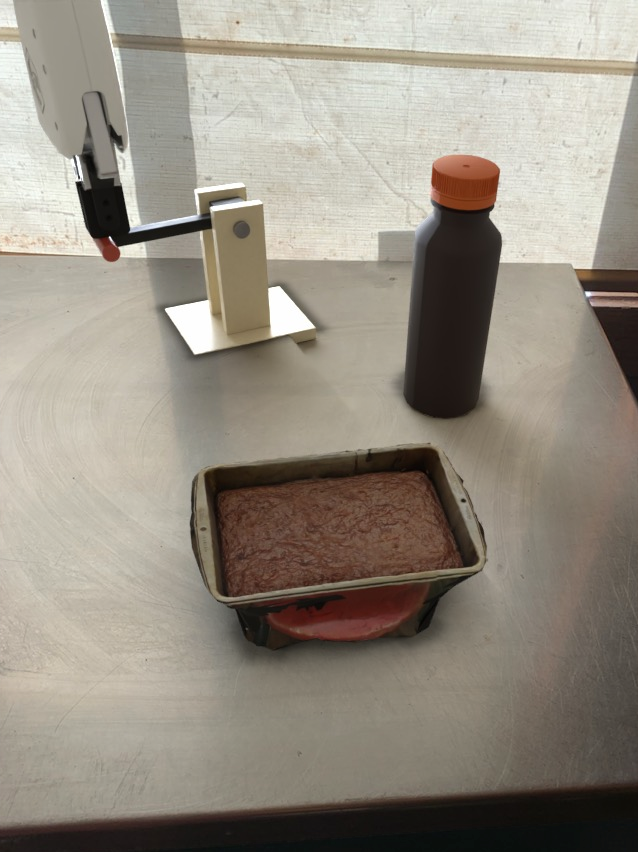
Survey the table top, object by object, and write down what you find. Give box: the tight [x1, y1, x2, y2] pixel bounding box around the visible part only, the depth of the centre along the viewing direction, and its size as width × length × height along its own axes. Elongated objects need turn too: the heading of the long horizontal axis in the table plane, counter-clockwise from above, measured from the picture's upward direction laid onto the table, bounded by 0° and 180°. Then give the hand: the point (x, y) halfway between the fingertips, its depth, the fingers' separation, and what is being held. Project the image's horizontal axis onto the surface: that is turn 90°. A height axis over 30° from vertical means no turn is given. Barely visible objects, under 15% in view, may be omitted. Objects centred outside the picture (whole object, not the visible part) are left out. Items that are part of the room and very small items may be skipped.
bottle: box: [402, 154, 503, 419], centre depth 64 cm, size 7×7×20 cm
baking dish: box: [189, 442, 488, 651], centre depth 52 cm, size 14×18×10 cm
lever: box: [87, 196, 244, 263], centre depth 67 cm, size 13×5×2 cm, turn 119°
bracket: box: [164, 182, 317, 356], centre depth 72 cm, size 12×9×13 cm
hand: (108, 231), depth 65 cm, fingers closed
